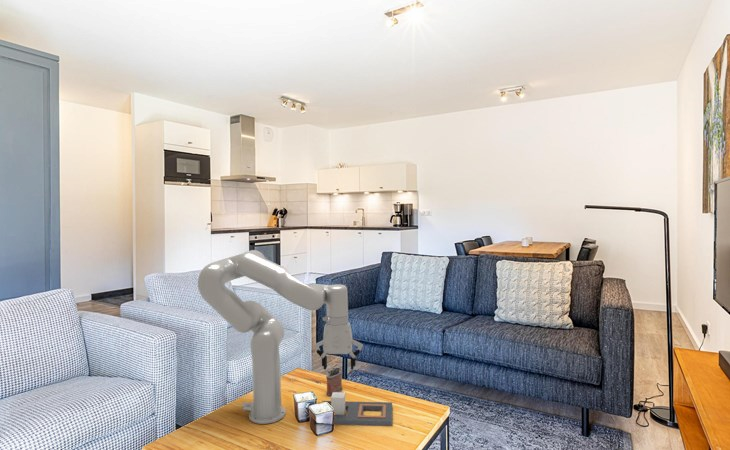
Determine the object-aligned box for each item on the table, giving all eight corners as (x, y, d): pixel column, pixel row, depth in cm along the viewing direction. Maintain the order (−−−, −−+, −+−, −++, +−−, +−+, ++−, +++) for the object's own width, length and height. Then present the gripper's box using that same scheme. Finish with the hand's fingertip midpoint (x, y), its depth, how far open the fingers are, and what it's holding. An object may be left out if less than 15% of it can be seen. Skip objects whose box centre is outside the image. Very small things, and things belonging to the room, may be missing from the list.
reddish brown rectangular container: (337, 387, 170) (337, 363, 169) (344, 389, 168) (343, 365, 167) (324, 395, 163) (324, 369, 163) (331, 397, 161) (330, 371, 161)
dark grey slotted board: (315, 424, 141) (315, 419, 141) (322, 404, 155) (322, 400, 155) (392, 425, 139) (392, 420, 139) (392, 406, 153) (392, 401, 153)
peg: (331, 417, 145) (330, 397, 145) (333, 411, 150) (332, 392, 149) (343, 417, 145) (343, 398, 145) (345, 411, 149) (345, 392, 149)
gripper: (311, 323, 143) (312, 372, 144) (361, 322, 142) (362, 372, 142) (315, 317, 151) (316, 364, 151) (362, 317, 149) (364, 364, 150)
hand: (338, 368), depth 147 cm, fingers open, 9 cm apart
